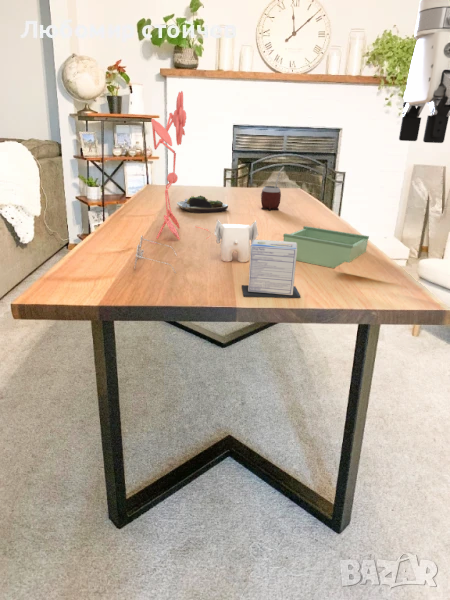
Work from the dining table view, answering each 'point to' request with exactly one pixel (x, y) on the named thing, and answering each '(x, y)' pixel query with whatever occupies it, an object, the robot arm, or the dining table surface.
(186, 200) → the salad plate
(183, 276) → the dining table surface
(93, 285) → the dining table surface
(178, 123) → the figurine
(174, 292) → the dining table surface
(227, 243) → the elephant figurine
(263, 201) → the mate gourd
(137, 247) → the sunglasses
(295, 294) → the mat
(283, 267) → the medicine box
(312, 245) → the basket
